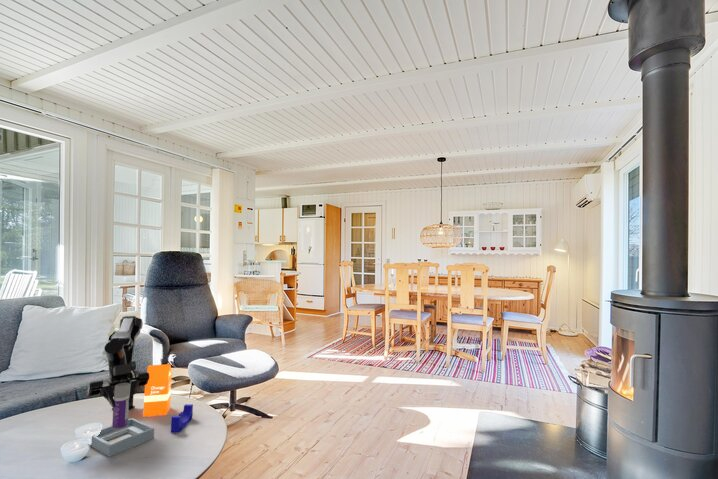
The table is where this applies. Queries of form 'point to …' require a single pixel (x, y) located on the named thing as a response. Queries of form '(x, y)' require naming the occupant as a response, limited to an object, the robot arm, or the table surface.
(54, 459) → the table surface
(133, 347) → the robot arm
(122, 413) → the container
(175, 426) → the cable clip
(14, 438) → the table surface
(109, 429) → the walled box
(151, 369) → the orange juice
